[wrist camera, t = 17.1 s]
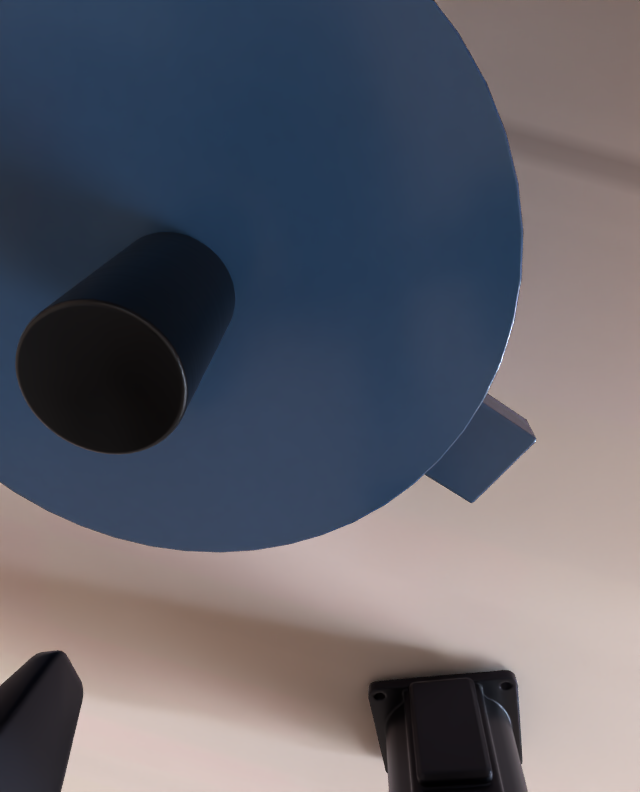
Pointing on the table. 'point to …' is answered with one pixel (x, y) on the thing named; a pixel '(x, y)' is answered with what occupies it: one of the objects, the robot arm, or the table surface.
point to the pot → (483, 450)
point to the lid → (244, 261)
